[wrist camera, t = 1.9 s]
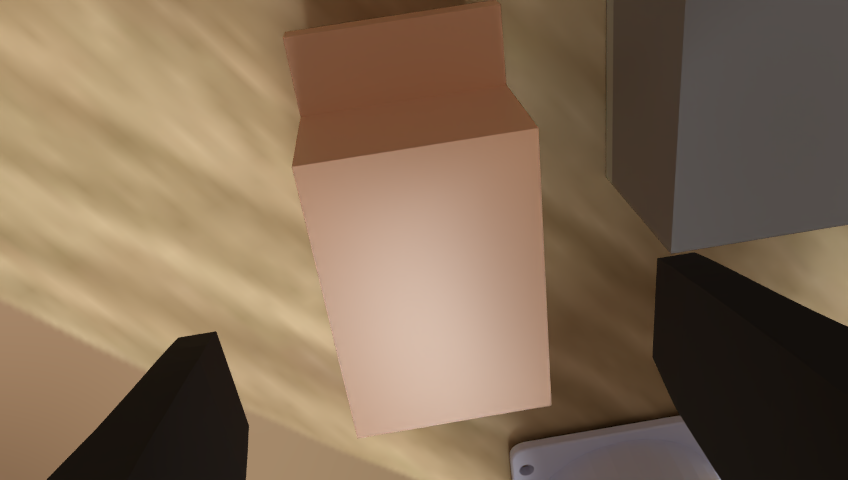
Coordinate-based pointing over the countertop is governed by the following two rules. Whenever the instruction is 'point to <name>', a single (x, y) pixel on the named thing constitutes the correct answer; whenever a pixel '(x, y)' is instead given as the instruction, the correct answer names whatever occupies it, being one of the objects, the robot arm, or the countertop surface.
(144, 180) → the countertop surface
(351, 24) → the block
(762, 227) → the grey square frame
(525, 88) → the countertop surface
